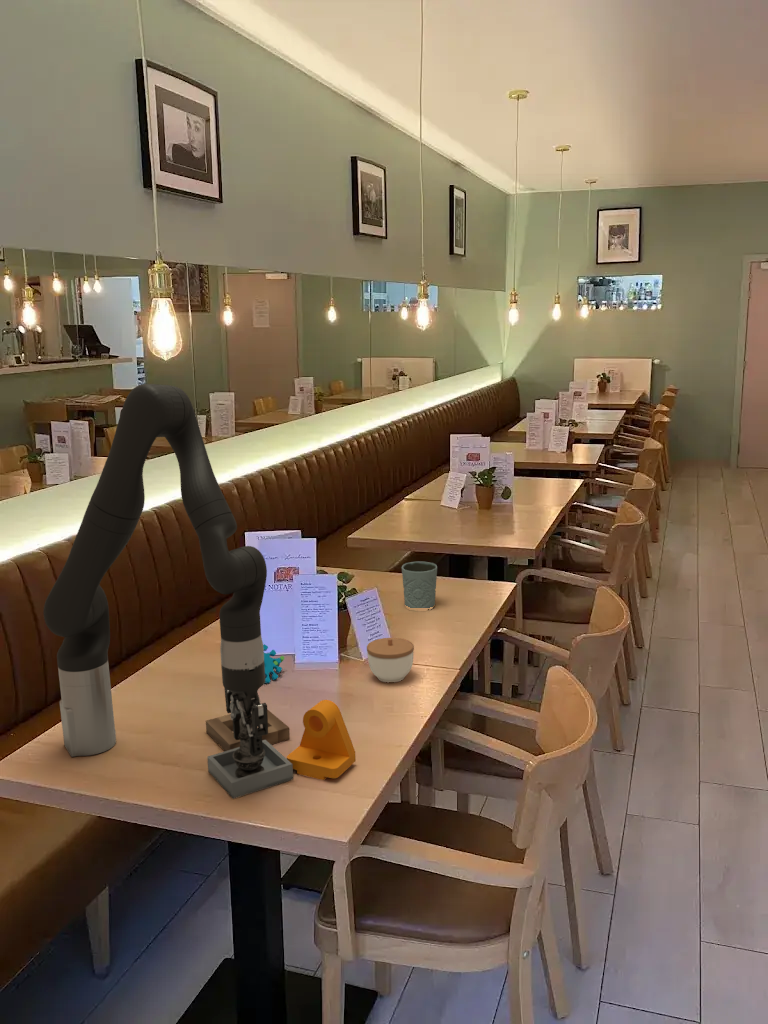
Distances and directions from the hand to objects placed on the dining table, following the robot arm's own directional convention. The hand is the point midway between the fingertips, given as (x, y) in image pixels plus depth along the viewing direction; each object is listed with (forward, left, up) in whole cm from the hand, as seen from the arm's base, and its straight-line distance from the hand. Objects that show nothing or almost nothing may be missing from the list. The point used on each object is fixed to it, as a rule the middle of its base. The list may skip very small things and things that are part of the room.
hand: (248, 745), depth 160 cm
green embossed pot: (+79, +61, -6) cm, 100 cm away
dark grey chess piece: (0, 0, -5) cm, 5 cm away
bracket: (+12, -5, -6) cm, 14 cm away
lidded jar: (+45, +23, -6) cm, 51 cm away
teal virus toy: (+21, +40, -6) cm, 46 cm away
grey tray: (0, 0, -6) cm, 6 cm away
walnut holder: (+6, +15, -6) cm, 17 cm away
